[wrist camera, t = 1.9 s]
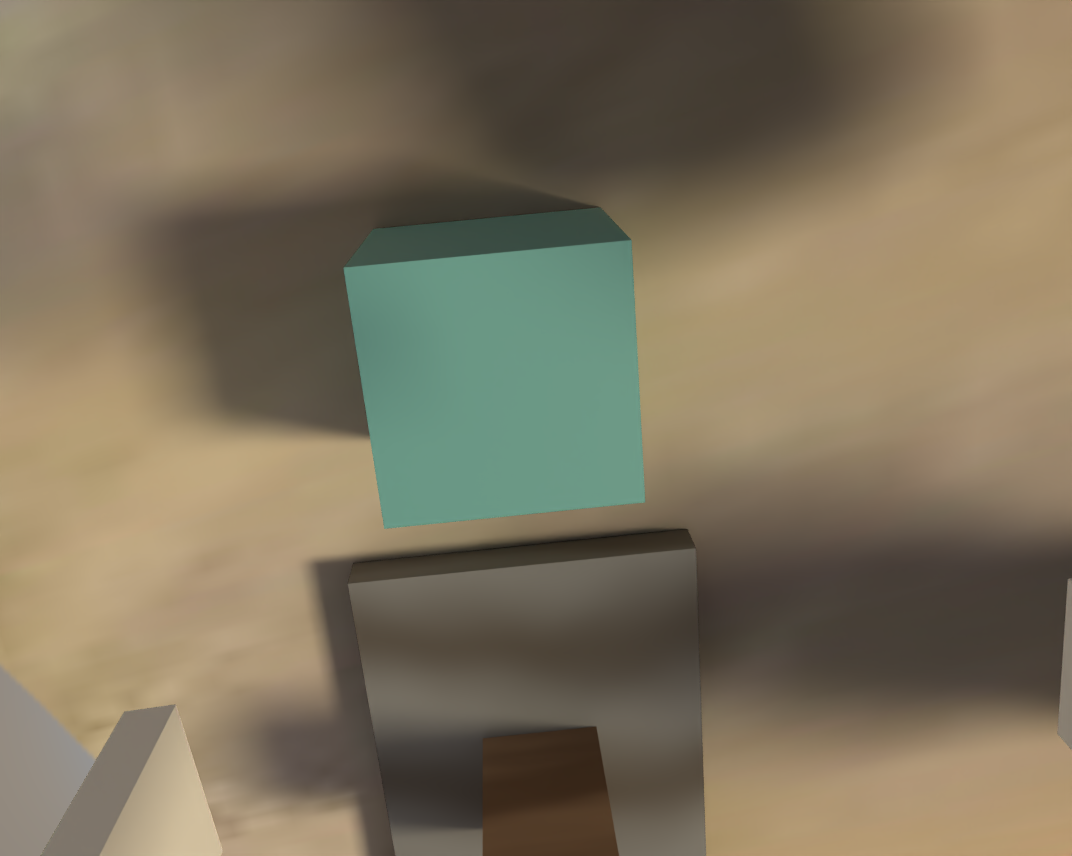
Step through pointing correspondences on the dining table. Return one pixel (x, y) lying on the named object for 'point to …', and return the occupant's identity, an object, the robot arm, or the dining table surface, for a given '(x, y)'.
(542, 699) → the grey base with post
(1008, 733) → the dining table surface
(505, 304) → the mint green cube
